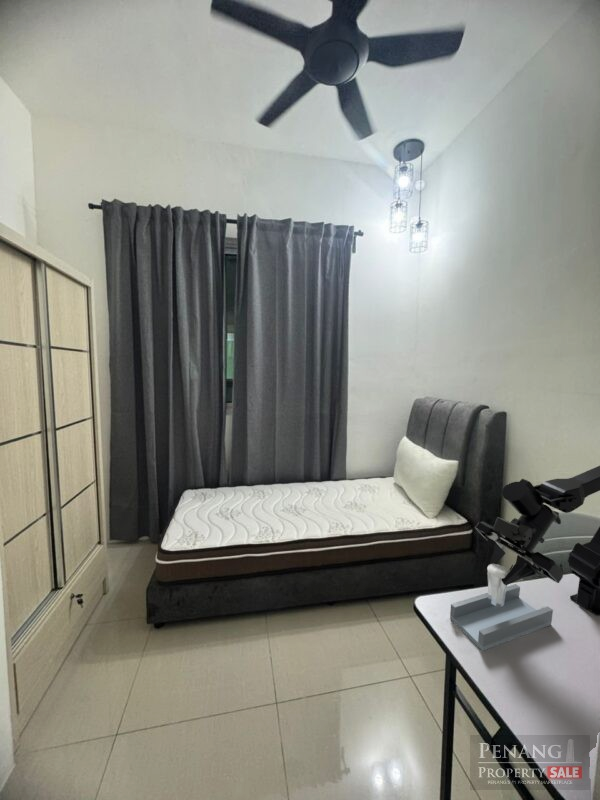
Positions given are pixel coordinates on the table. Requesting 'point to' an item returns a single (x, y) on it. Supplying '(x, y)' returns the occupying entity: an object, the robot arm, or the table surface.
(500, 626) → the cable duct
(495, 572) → the milkshake
